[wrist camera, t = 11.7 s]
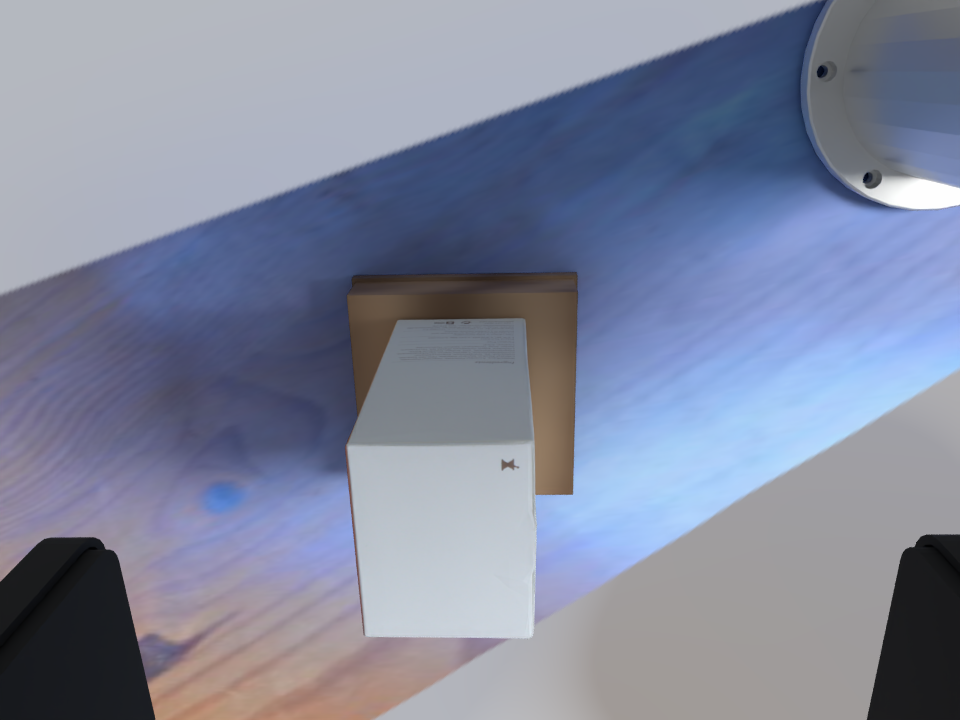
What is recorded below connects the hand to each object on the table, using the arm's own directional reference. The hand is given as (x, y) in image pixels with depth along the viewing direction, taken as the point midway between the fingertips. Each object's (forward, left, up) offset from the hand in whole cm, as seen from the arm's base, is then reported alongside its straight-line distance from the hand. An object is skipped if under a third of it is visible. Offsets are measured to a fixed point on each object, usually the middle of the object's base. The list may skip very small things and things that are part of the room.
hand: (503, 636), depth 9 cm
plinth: (+2, +9, -30) cm, 32 cm away
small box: (+2, +9, -28) cm, 29 cm away
